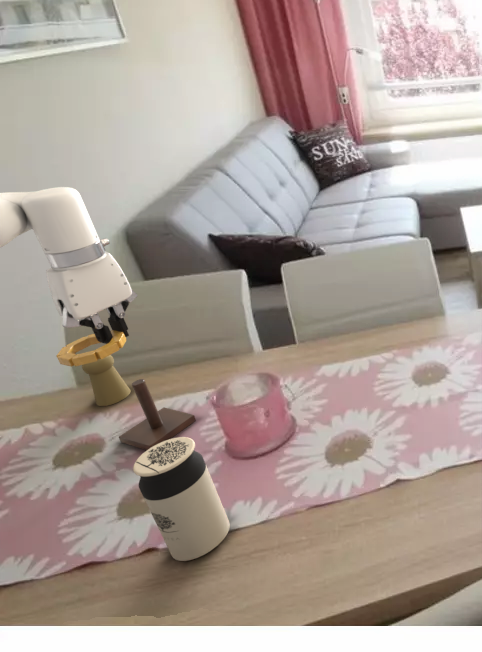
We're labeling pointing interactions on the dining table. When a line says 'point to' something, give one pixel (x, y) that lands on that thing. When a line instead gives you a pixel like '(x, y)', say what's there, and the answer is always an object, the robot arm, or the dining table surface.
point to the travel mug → (182, 498)
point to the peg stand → (154, 421)
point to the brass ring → (71, 358)
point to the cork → (106, 381)
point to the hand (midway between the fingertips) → (115, 338)
